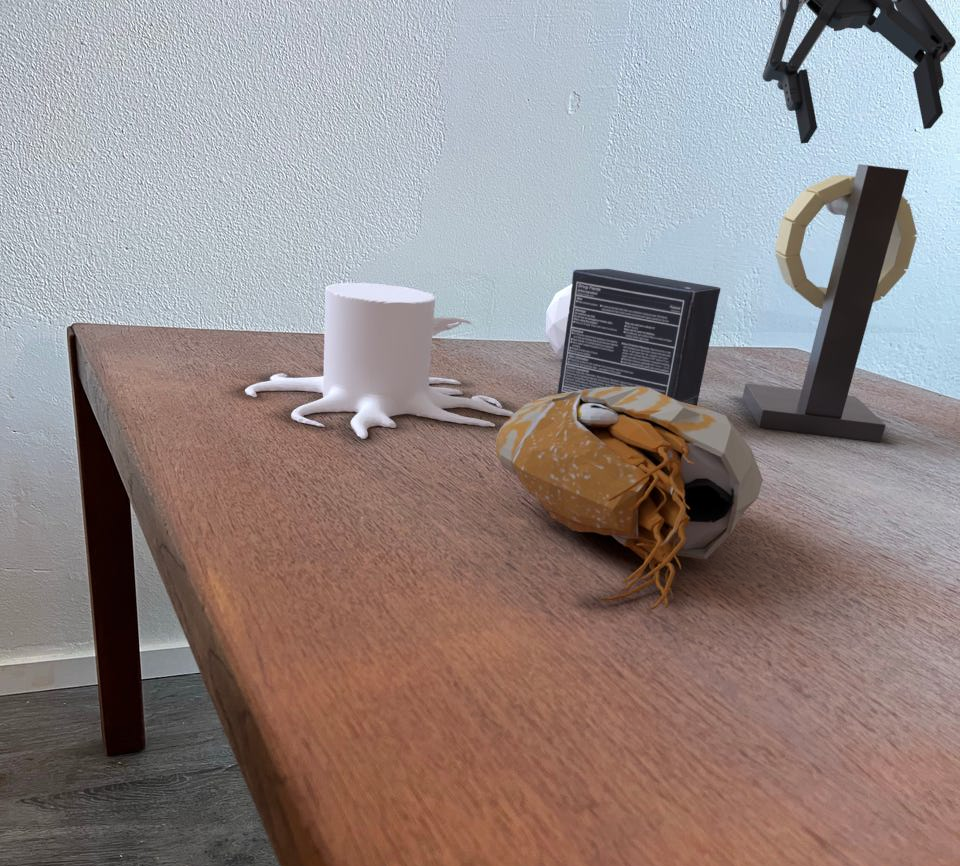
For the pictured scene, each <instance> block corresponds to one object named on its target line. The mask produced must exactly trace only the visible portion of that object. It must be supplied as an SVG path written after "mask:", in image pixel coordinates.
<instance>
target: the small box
mask: <svg viewBox="0 0 960 866" xmlns="http://www.w3.org/2000/svg"><path fill="white" fill-rule="evenodd" d="M571 284H572V290H571V300H570V307H569V314H568V320H567V327H566V335H565V342H564V350H563V357H561V358H562V359H561V364H560V373H559V378H558V386H557V391H556V394H561V393H567V392H573V391H579V390H586V389H592V388H602V387H647V388H651V389H653V390H655V391H657V392H659V393H661V394H664V395H666V396H668V397H670V398H672V399H675V400H677V401H680V402H683V403H687V404H691V405H695V406H698V402H699V397H700V393H701V388H702V382H703V377H704V373H705V367H706V362H707V358H708V354H709V353H708V352H709V349H710V348H709V347H710V342H711V338H712V334H713V328H714V323H715V318H716V312H717V309H718V303H719V297H720V293H721V289H722V288H721V287H718V286H714V285H709V284H708V285H706V284H703V283H702V284H700V283H695V282H689V281H683V280H677V279H672V278H665V277H660V276H654V275H648V274H641V273H636V272H629V271H623V270H617V269H612V268H591V269H589V268H588V269H574V270H573V272H572V279H571Z"/></svg>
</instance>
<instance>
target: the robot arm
mask: <svg viewBox="0 0 960 866" xmlns="http://www.w3.org/2000/svg"><path fill="white" fill-rule="evenodd" d="M805 4H806V6H807V8H808V9H809V10H810V11H811V12H812V13H813V14H814V15H815V16H816V18H815V19H814V21H813V22H812V23H811V26H810V27H809V29H808V30H807V32H806V34H804V37H803V38H802V40H801V42H800V43H799V44H798V46H797V48H796V49H795V51H794V52H793V54H792V55H791V57H790V59H789V60H788V61H785V60H783V57H784V55H785V51H786V48H787V45H788V41H789V38H790V36H791V33H792V30H793V26H794V23H795V20H796V17H797V14H798V13H799V12H800V11H802V7H803V6H804V5H805ZM877 9H878V10H879V14H878V15H877V16H875V13H876V11H877ZM779 12H780V13H779V15H780V19H779V23H778V25H777V29H776V31H775V35H774V38H773V41H772V44H771V47H770V50H769V53H768V57H767V60H766V63H765V66H764V69H763V72H762V76H761V77H762V79H763V81H765V82H768V83H769V82H772V81H777V83H776V86H777V89H779V90H781V91H783V95H784V101H785V106H786V108H787V110H788V111H789V112H793V111H794V112H795V118H796V124H797V128H798V129H797V130H798V135H799V140H800V141H799V142H800V144H801V145H802V144H808V143H809V142H810V140H811V139H812V137H813V136H814V134H815V133H816V131H817V129H818V124H817V123H818V122H817V118H816V113H815V107H814V102H813V96H812V90H811V85H810V80H809V73H808V69H807V68H806V69H800V68H801V67H802V65H803V63H805V60H806V59H807V57H808V56H809V54H810V52H811V51H812V49H813V47H814V46H815V44H816V43H817V42H818V40H819V39H820V37H821V35H822V34H823V32H824V31H825V29H826V28H827V27H828V28H830V29H833V32H841V31H843V30H846V29H854V30H857V29H863V27H865V28H866V29H868V30H869V31H870V32H871V33H878V34H880V36H882V37H883V38H884V40H886V41H888V43H890V44H891V45H892V46H893V47H894V48H896V49H897V50H899V52H901V53H902V54H903V55H904V56H906V57H907V58H908V59H909V60H910V61H911V62H913V63H914V64H915V65H916V67H915V69H914V70H913V72H912V76H913V78H914V85H915V91H916V94H917V101H918V106H919V111H920V117H921V121H922V126H923V130H928V129H929V130H930V129H931V128H932V127H933V126H934V125H935V124H936V122H937V121H938V120H939V119H940V117H942V115H943V114H944V110H943V104H942V99H941V95H940V94H941V93H940V91H941V89H942V88H943V86H944V83H945V80H944V79H945V78H944V74H943V69H942V64H941V63H942V62H943V61H944V60H945V59H946V58H947V56H948V55H949V54H950V52H951V51H952V49H953V48H954V47H955V46H956V42H957V41H956V39H955V37H954V36H953V35H952V34H953V33H951V32H950V30H949V29H948V28H947V26H946V25H945V24H944V22H943V21H942V20H941V19H940V17H939V16H938V15H937V13H936V12H935V11H934V9H933V7H932V6H931V5H930V4H929V3H928V1H927V0H780V1H779Z"/></svg>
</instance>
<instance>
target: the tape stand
mask: <svg viewBox="0 0 960 866" xmlns="http://www.w3.org/2000/svg"><path fill="white" fill-rule="evenodd" d="M909 172H910V169H904V168H896V167H886V166H878V165H870V164H860V163H859V164H857V168H856V172H855V175H854V176H855V180H854V184H853V187H852V191H851V194H848V195H846V196H844V197H841V198H839V199H837V200H835V201H832V202H830V203H828V204H826V205H825V208H826V209H827V211H829V213H831V214H832V215H835V216H843V217H844V219H843V222H842V223H843V224H842V227H841V231H840V236H839V240H838V243H837V248H836V251H835V256H834V260H833V264H832V268H831V272H830V276H829V279H828V284H827V287H826V288H827V291H826V295H825V299H824V303H823V307H822V309H821V312H820V316H819V320H818V324H817V328H816V332H815V336H814V339H813V344H812V348H811V351H810V355H809V360H808V364H807V368H806V372H805V375H804V379H803V384H802V387H801V389H798V388H791V387H781V386H774V385H766V384H758V383H749V382H746V383H745V384H744V389H743V393H742V398H741V399H742V401H743V403H744V404H745V406H746V408H747V410H748V411H749V413H750V415H751V416H752V418H753V419H754V422H756V424H757V426H758V427H759V428H760V429H767V430H775V431H782V432H783V431H784V432H790V433H791V432H793V433H801V434H807V435H808V434H809V435H817V436H824V437H834V438H840V439H849V440H857V441H866V442H874V443H881V441H882V439H883V435H884V432H885V428H886V424H885V423H884V422H883V421H882V420H881V419H880V418H879V417H878V416H877V415H876V414H874V412H872V411H871V409H869V408H868V406H866V404H864V403H863V402H862V401H861V400H860V399H859V398H858V396H855V395H849V392H850V388H851V384H852V381H853V378H854V374H855V369H856V366H857V362H858V358H859V356H860V355H859V354H860V353H861V352H860V351H861V347H862V344H863V340H864V337H865V333H866V330H867V327H868V326H867V325H868V323H869V322H868V321H869V320H870V319H869V318H870V314H871V311H872V307H873V304H874V302H873V300H874V297H875V293H876V289H877V286H878V282H879V278H880V275H881V271H882V267H883V264H884V260H885V256H886V253H887V249H888V245H889V242H890V238H891V234H892V231H893V227H894V223H895V220H896V216H897V212H898V209H899V205H900V201H901V198H902V196H903V194H904V190H905V186H906V183H907V179H908V175H909Z"/></svg>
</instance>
